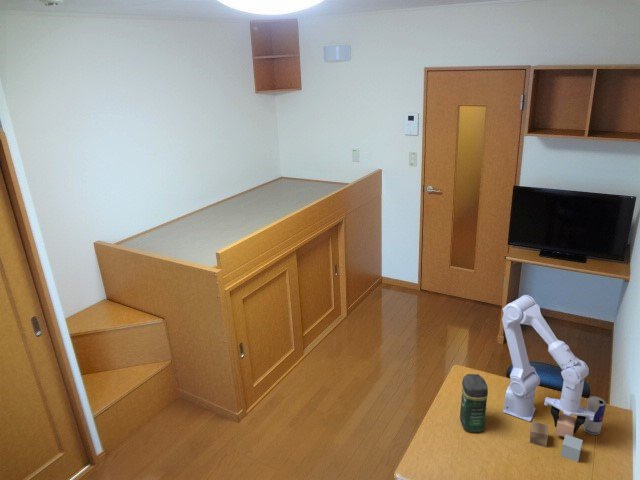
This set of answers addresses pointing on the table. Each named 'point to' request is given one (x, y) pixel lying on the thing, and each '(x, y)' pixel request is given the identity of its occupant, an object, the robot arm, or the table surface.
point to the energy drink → (595, 415)
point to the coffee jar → (473, 403)
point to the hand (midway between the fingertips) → (565, 428)
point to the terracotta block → (565, 425)
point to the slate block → (571, 448)
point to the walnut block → (539, 434)
